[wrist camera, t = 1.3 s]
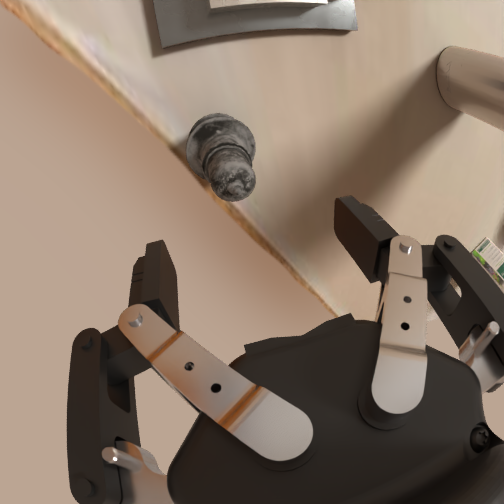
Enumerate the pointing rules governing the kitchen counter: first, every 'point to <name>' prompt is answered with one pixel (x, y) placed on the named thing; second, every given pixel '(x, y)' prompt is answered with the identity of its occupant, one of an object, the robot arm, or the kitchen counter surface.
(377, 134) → the kitchen counter surface
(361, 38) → the kitchen counter surface
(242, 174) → the grey chess piece
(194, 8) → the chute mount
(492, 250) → the syrup box
